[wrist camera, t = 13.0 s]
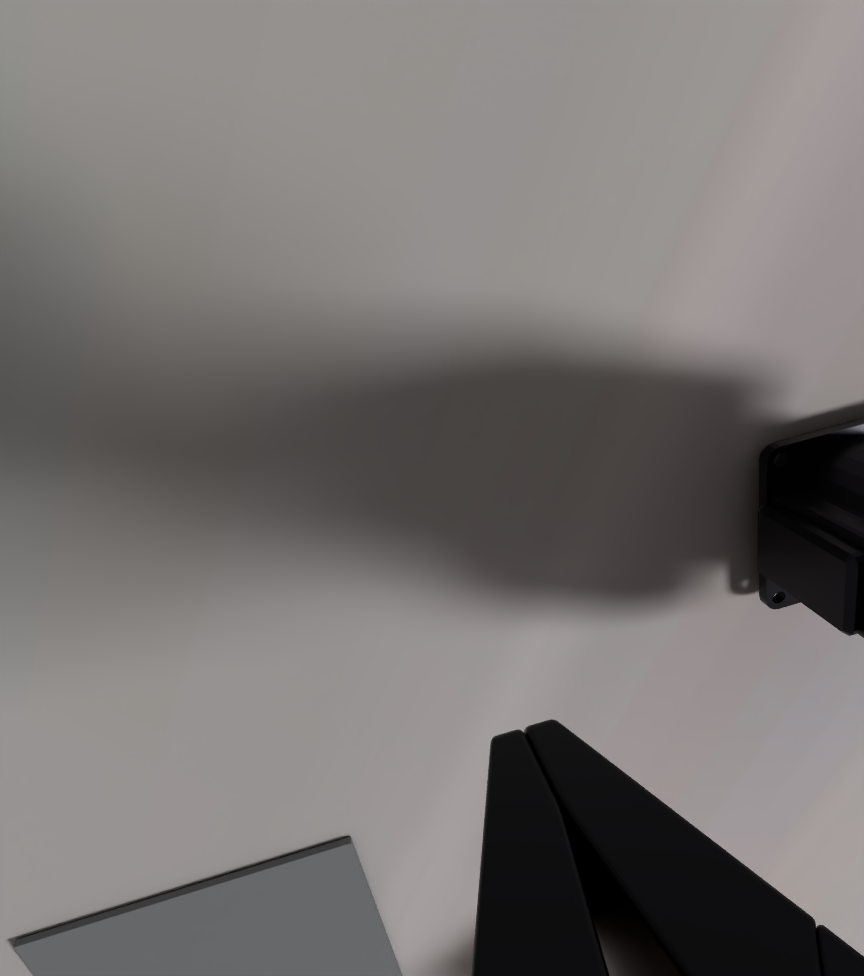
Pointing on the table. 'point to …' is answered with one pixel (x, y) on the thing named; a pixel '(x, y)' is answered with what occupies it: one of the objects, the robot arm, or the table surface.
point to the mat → (233, 927)
